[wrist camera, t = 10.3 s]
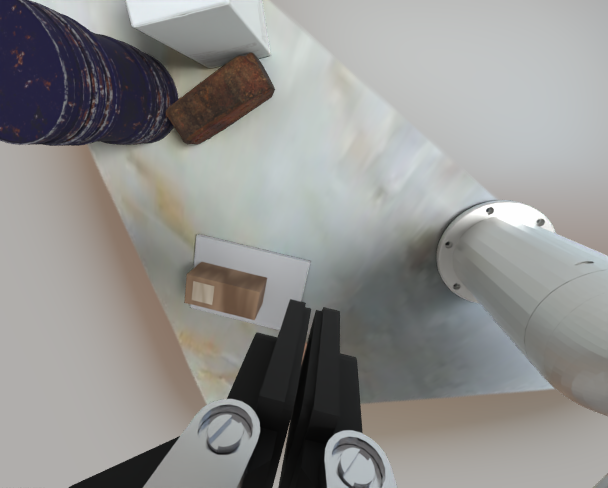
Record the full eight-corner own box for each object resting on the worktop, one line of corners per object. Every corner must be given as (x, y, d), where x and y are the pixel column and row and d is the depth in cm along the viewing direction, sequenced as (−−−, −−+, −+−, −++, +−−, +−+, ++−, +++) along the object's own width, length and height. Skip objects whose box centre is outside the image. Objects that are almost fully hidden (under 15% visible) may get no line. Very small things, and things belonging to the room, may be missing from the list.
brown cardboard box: (259, 292, 35) (186, 274, 36) (254, 320, 37) (184, 302, 37) (267, 277, 39) (201, 261, 39) (262, 303, 40) (198, 287, 41)
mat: (310, 261, 38) (310, 262, 38) (294, 331, 42) (293, 333, 41) (198, 233, 39) (196, 235, 38) (191, 305, 43) (189, 307, 42)
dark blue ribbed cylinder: (197, 103, 34) (95, 75, 20) (145, 162, 37) (24, 175, 23) (130, 27, 32) (-34, -63, 18) (82, 95, 35) (-92, 64, 21)
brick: (203, 145, 35) (184, 146, 31) (184, 113, 34) (161, 109, 30) (279, 94, 33) (270, 86, 28) (259, 58, 32) (247, 45, 27)
